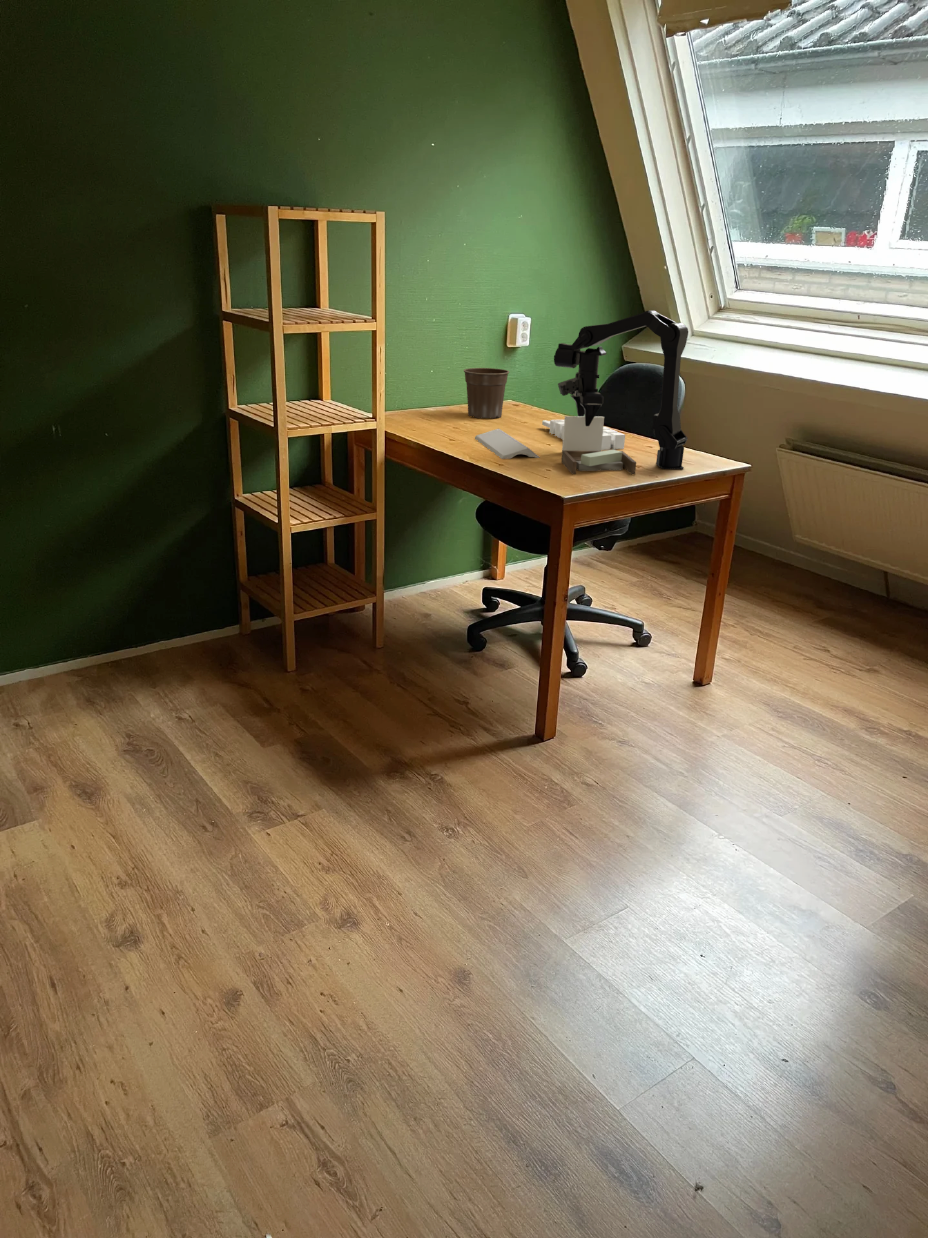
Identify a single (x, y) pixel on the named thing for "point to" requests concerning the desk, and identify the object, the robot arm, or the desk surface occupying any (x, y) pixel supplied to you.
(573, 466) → the tray
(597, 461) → the offcut upper
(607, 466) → the offcut lower
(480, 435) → the crown molding
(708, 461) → the desk surface
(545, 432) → the desk surface
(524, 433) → the desk surface
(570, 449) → the sheet
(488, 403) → the plant pot
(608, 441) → the organizer
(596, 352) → the robot arm
